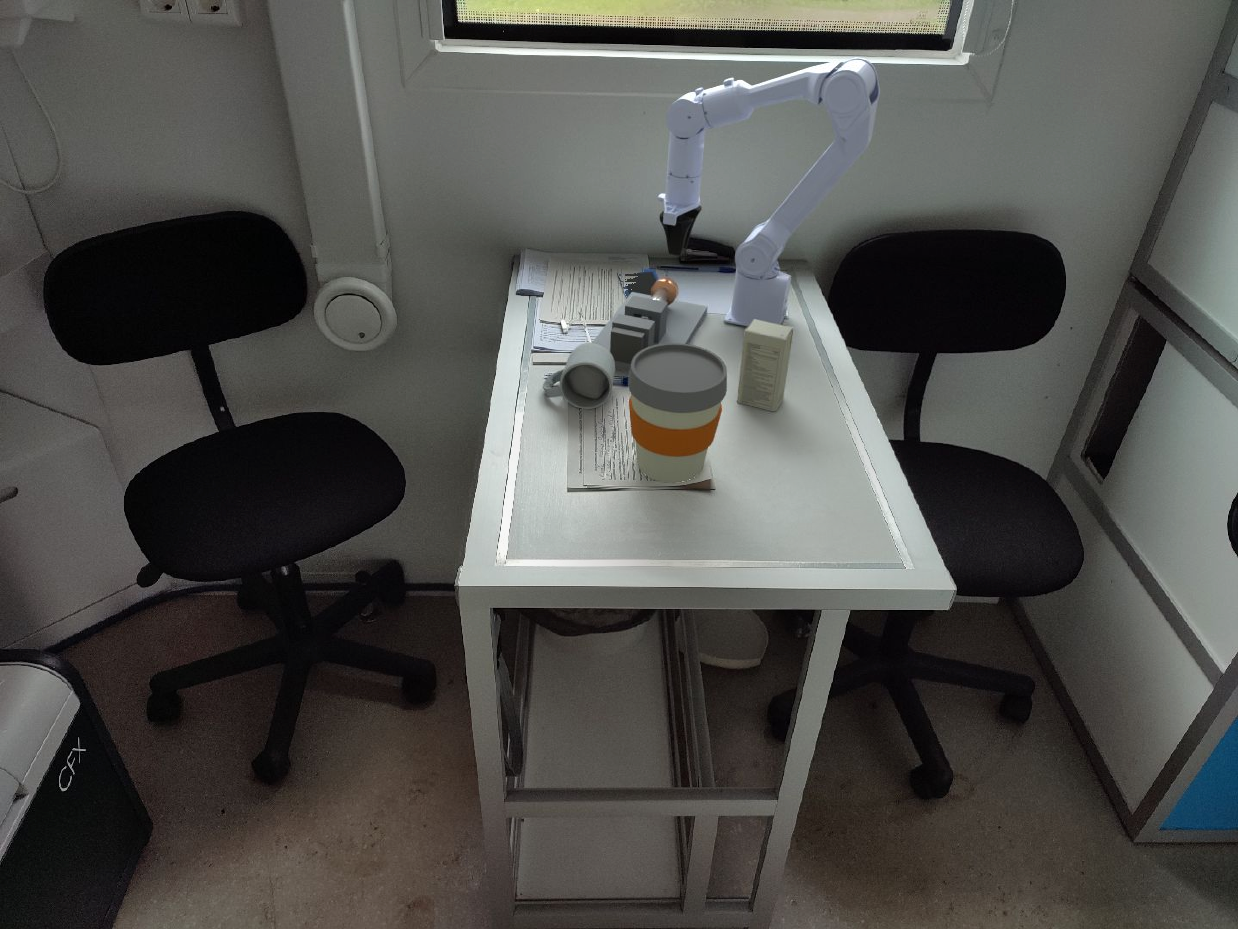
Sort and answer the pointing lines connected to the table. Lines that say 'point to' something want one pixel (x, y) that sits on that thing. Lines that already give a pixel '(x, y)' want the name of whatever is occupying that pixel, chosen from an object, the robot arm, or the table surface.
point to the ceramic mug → (584, 377)
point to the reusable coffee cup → (675, 408)
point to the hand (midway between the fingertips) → (677, 250)
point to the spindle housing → (648, 326)
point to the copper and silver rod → (663, 292)
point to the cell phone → (641, 282)
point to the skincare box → (764, 364)
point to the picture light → (565, 327)
